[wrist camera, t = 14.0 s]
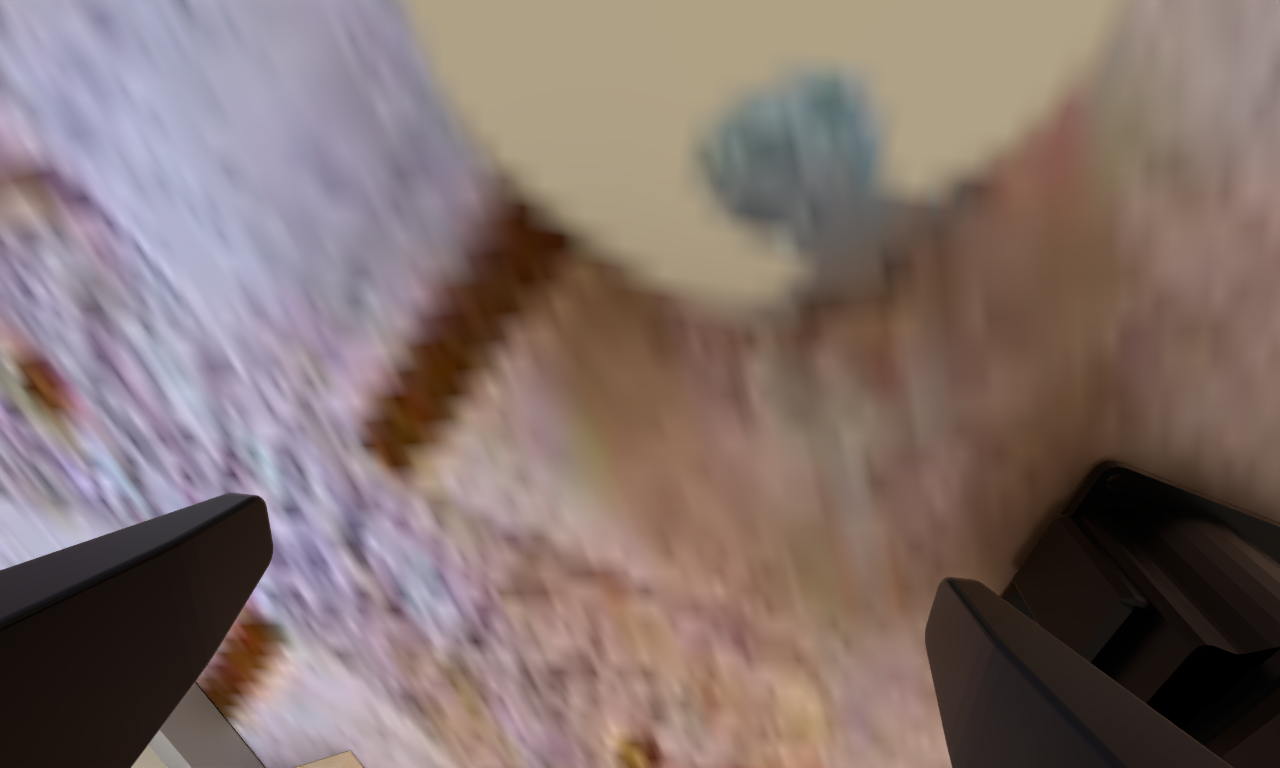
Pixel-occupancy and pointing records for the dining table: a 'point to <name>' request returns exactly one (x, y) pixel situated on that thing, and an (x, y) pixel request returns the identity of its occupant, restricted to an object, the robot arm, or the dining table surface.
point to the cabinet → (336, 762)
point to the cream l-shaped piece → (196, 739)
